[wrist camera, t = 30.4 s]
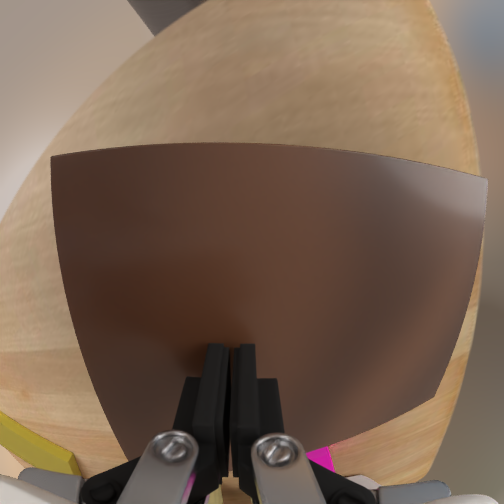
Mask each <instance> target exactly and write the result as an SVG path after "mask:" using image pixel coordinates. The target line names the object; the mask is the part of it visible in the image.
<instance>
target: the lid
mask: <svg viewBox="0 0 504 504" xmlns="http://www.w3.org/2000/svg"><path fill="white" fill-rule="evenodd" d="M487 187H488V179H486V178H483V177H479V176H476V175H472V174H468V173H464V172H460V171H456V170H452V169H448V168H444V167H440V166H435V165H430V164H426V163H421V162H416V161H411V160H405V159H400V158H394V157H388V156H382V155H376V154H369V153H362V152H355V151H347V150H339V149H330V148H320V147H309V146H296V145H282V144H262V143H172V144H153V145H138V146H126V147H116V148H106V149H97V150H89V151H82V152H75V153H68V154H62V155H56V156H52V157H51V191H52V206H53V217H54V227H55V235H56V243H57V250H58V256H59V263H60V268H61V274H62V279H63V284H64V289H65V293H66V298H67V302H68V306H69V310H70V314H71V318H72V322H73V326H74V329H75V333H76V336H77V340H78V343H79V346H80V349H81V352H82V356H83V359H84V362H85V364H86V367H87V370H88V373H89V376H90V378H91V381H92V384H93V386H94V389H95V391H96V394H97V396H98V399H99V401H100V404H101V406H102V408H103V411H104V413H105V415H106V417H107V420H108V422H109V424H110V426H111V428H112V430H113V432H114V434H115V436H116V438H117V440H118V442H119V444H120V446H121V448H122V450H123V452H124V454H125V456H126V457H127V459H128V461H131V460H133V459H135V458H137V457H140V456H142V454H143V452H144V450H145V448H146V446H147V445H148V443H149V441H150V440H151V438H152V437H153V436H154V435H156V434H157V433H159V432H162V431H165V430H171V429H172V427H173V423H174V420H175V416H176V412H177V408H178V404H179V401H180V397H181V393H182V389H183V386H184V382H185V379H186V377H187V376H188V377H201V376H202V371H203V366H204V362H205V357H206V352H207V347H208V343H224V347H229V348H230V368H231V388H232V373H233V358H234V347H240V344H255V351H256V373H257V378H277V381H278V387H279V395H280V402H281V409H282V417H283V424H284V431H285V434H289V435H291V436H293V437H295V438H296V439H298V440H299V441H300V442H301V444H302V446H303V447H304V450H305V452H306V453H308V452H311V451H314V450H317V449H320V448H323V447H326V446H329V445H332V444H335V443H337V442H340V441H343V440H345V439H348V438H351V437H353V436H356V435H358V434H361V433H363V432H365V431H368V430H370V429H372V428H375V427H377V426H379V425H381V424H383V423H385V422H388V421H390V420H392V419H394V418H396V417H398V416H400V415H402V414H404V413H406V412H408V411H410V410H411V409H413V408H415V407H417V406H419V405H421V404H422V403H424V402H426V401H428V400H430V399H431V398H433V397H434V396H435V394H436V391H437V389H438V387H439V385H440V382H441V380H442V378H443V376H444V373H445V371H446V368H447V366H448V363H449V361H450V358H451V356H452V353H453V350H454V348H455V345H456V342H457V339H458V336H459V333H460V330H461V327H462V324H463V321H464V317H465V314H466V311H467V307H468V304H469V300H470V296H471V292H472V288H473V284H474V280H475V275H476V270H477V265H478V260H479V255H480V249H481V243H482V237H483V229H484V222H485V212H486V201H487ZM232 470H233V468H232V456H231V444H230V453H229V471H232Z"/></svg>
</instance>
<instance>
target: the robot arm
mask: <svg viewBox="0 0 504 504" xmlns="http://www.w3.org/2000/svg"><path fill="white" fill-rule="evenodd" d="M230 444H231V456H232V468H233V477H239V489H241V490H242V491H243V492H245V493H246V494H247V495H249V496H250V497H251V504H499V503H498V502H496V501H495V500H494V499H492V498H491V497H489V496H485V495H480V494H479V495H478V494H477V495H476V494H468V495H458V496H451V492H450V489H449V487H448V486H447V485H446V484H445V483H444V482H441V481H438V480H430V481H424V482H418V483H410V484H402V485H392V486H379V487H378V488H377V489H367V488H366V487H364V486H362V485H360V484H357V483H355V482H353V481H351V480H349V479H347V478H345V477H343V476H341V475H339V474H337V473H335V472H333V471H331V470H329V469H327V468H325V467H323V466H321V465H319V464H317V463H316V462H314V461H312V460H310V459H308V457H307V455H306V452H305V450H304V447H303V446H302V444H301V442H300V441H299V440H298V439H296V438H295V437H293V436H291V435H289V434H285V431H284V424H283V417H282V409H281V402H280V395H279V387H278V381H277V378H257V373H256V351H255V344H240V347H234V358H233V373H232V388H231V368H230V348H229V347H224V343H208V347H207V352H206V357H205V362H204V366H203V371H202V376H201V377H188V376H187V377H186V379H185V382H184V386H183V389H182V393H181V397H180V401H179V404H178V408H177V412H176V416H175V420H174V423H173V427H172V429H171V430H165V431H162V432H159V433H157V434H156V435H154V436H153V437H152V438H151V440H150V441H149V443H148V445H147V446H146V448H145V450H144V452H143V454H142V456H140V457H137V458H135V459H133V460H131V461H129V462H126V463H124V464H122V465H119V466H117V467H115V468H112V469H110V470H108V471H105V472H103V473H100V474H98V475H95V476H93V477H91V478H89V479H84V478H83V477H82V476H79V475H72V474H65V473H59V472H54V471H49V470H44V469H39V468H31V467H29V468H26V469H24V470H23V471H22V472H20V474H19V476H18V479H16V478H13V477H10V476H5V475H1V474H0V504H208V501H209V498H210V493H212V492H213V491H215V490H216V489H218V488H219V484H220V485H222V477H228V474H229V453H230Z"/></svg>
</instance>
